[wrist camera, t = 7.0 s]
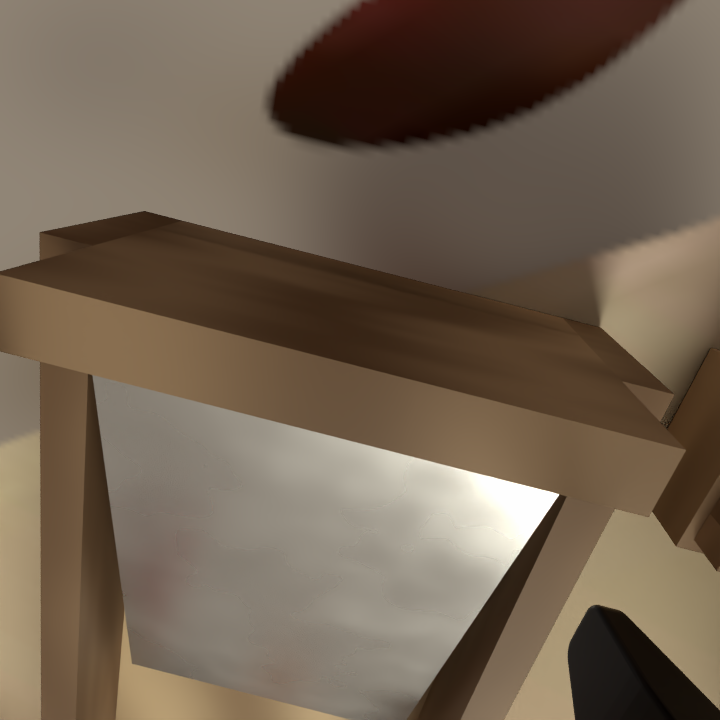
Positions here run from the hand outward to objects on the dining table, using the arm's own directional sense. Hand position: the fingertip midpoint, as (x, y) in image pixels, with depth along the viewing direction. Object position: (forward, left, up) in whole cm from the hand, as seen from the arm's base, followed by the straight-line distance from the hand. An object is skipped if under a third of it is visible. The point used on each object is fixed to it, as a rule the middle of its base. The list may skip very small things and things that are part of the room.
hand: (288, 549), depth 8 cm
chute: (0, +4, -6) cm, 7 cm away
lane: (0, +12, -7) cm, 14 cm away
